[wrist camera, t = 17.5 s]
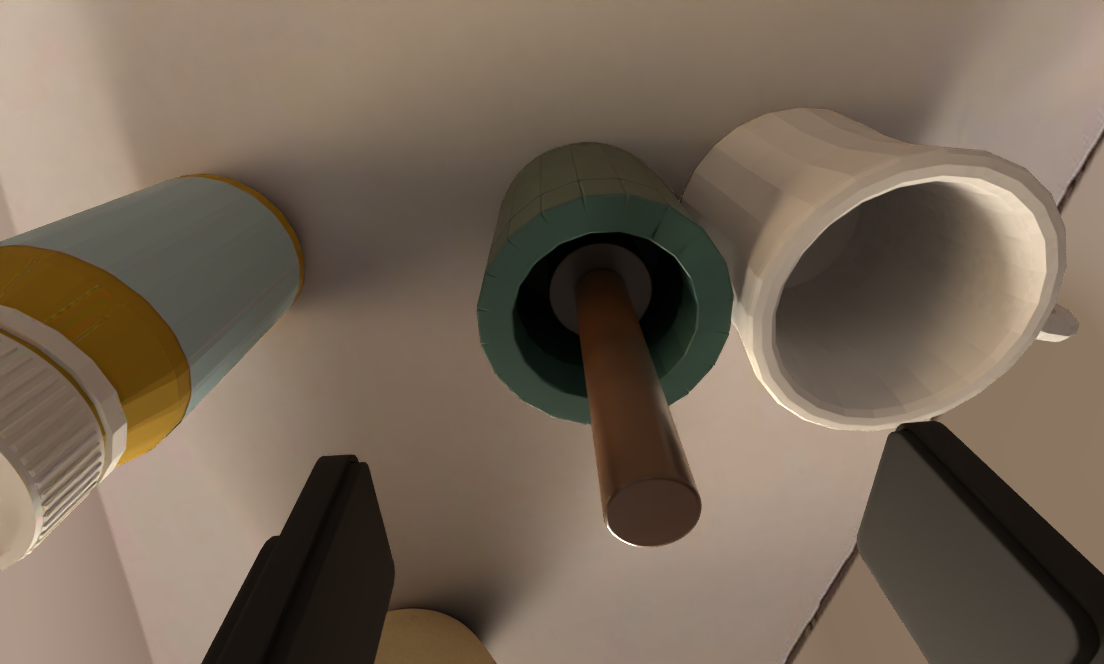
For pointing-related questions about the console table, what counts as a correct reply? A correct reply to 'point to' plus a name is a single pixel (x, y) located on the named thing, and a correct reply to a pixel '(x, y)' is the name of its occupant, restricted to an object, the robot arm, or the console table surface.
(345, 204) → the console table surface
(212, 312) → the bottle
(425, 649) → the flower pot
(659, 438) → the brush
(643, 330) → the green pen holder
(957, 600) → the robot arm
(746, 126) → the mug
